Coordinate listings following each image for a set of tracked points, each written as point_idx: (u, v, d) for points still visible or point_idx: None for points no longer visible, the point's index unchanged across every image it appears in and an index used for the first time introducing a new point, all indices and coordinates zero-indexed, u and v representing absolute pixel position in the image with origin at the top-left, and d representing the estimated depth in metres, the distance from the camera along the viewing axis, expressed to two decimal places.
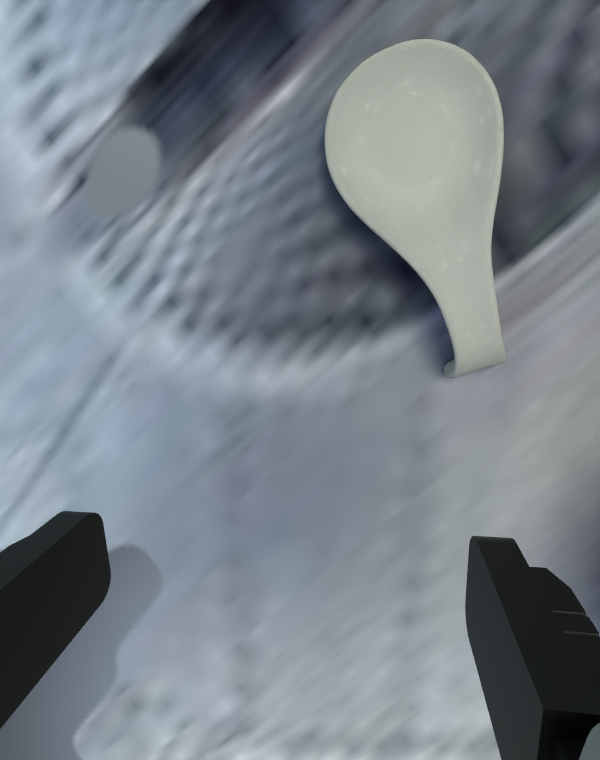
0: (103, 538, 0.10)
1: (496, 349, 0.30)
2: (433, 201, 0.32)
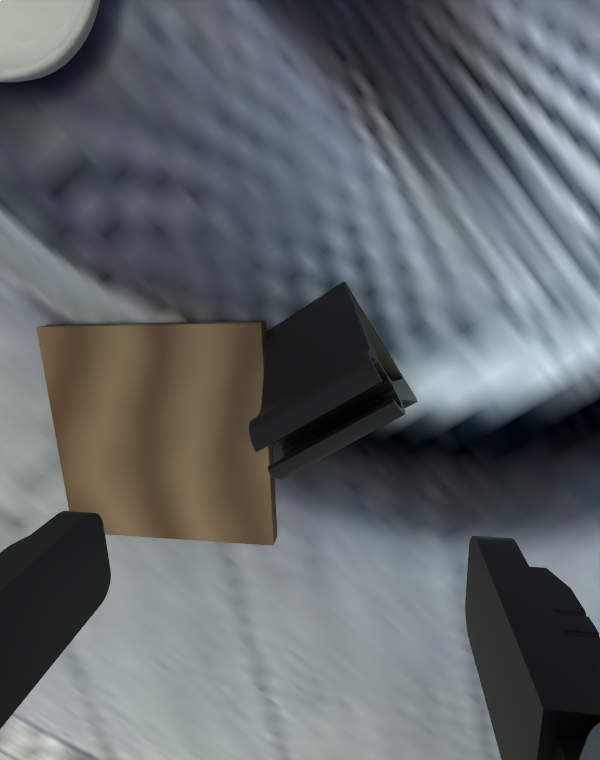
0: (103, 538, 0.10)
1: None
2: None
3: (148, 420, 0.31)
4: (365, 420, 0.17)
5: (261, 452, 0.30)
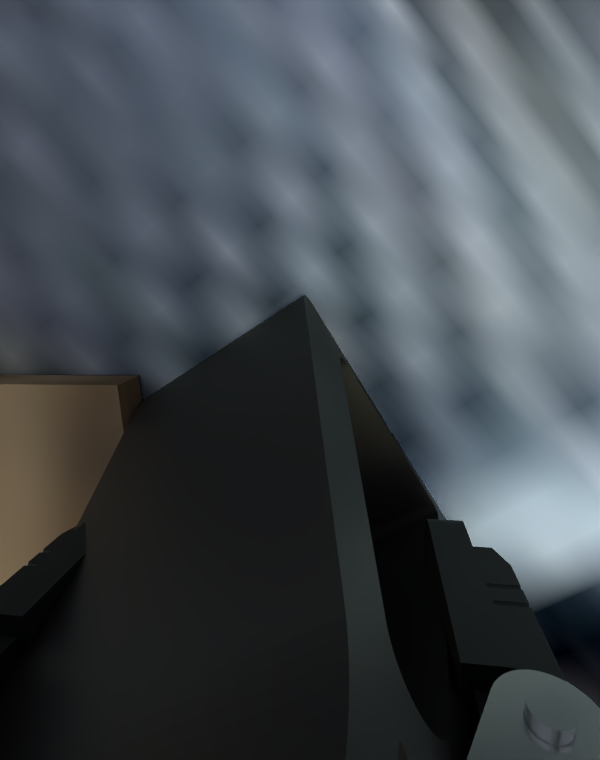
0: None
1: None
2: None
3: None
4: None
5: None
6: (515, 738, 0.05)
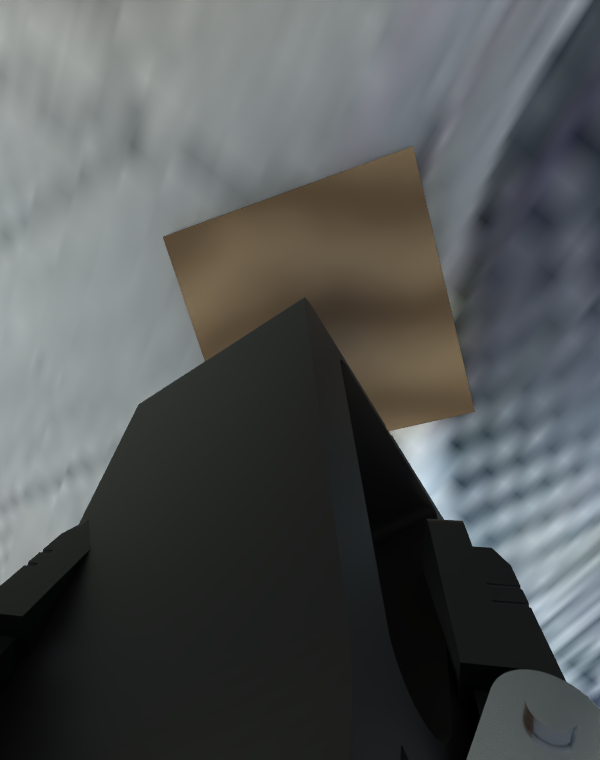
0: None
1: None
2: None
3: (334, 309, 0.27)
4: None
5: None
6: (515, 738, 0.05)
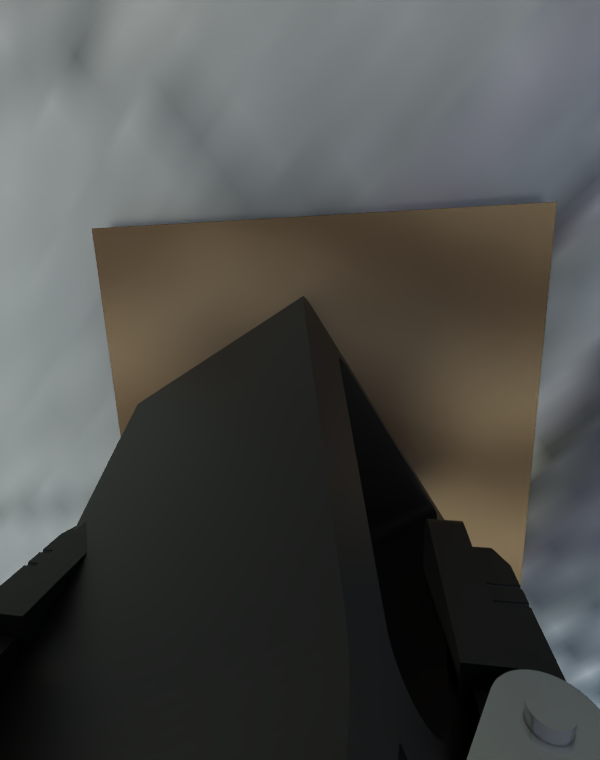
0: None
1: None
2: None
3: None
4: None
5: None
6: (515, 738, 0.05)
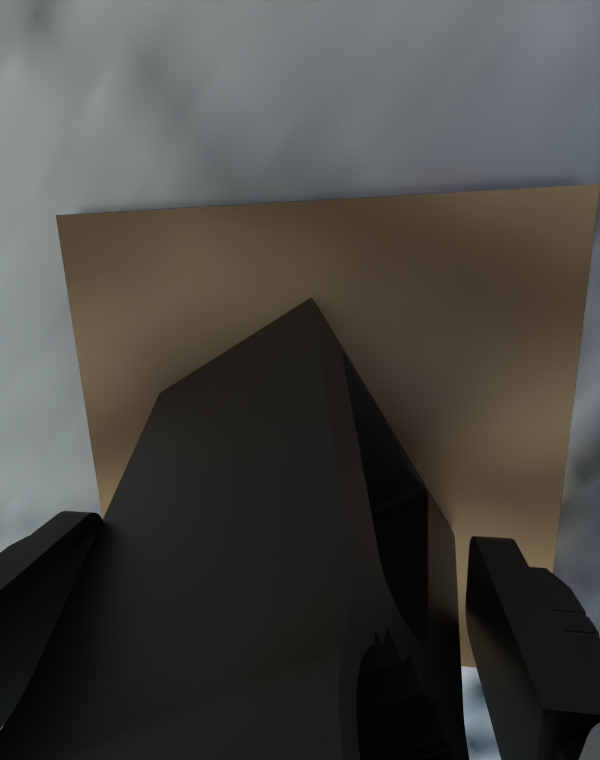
0: None
1: None
2: None
3: None
4: None
5: None
6: None
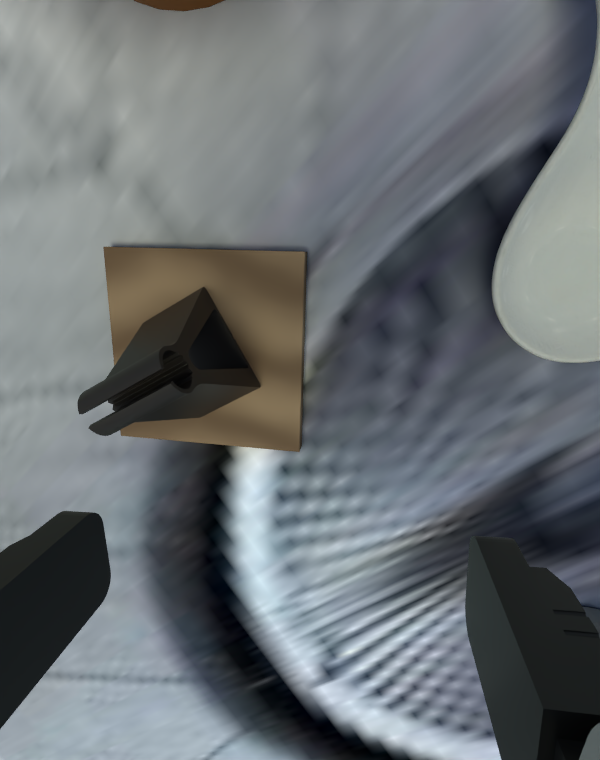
0: (103, 538, 0.10)
1: None
2: (576, 203, 0.28)
3: None
4: (152, 395, 0.24)
5: (198, 437, 0.38)
6: None
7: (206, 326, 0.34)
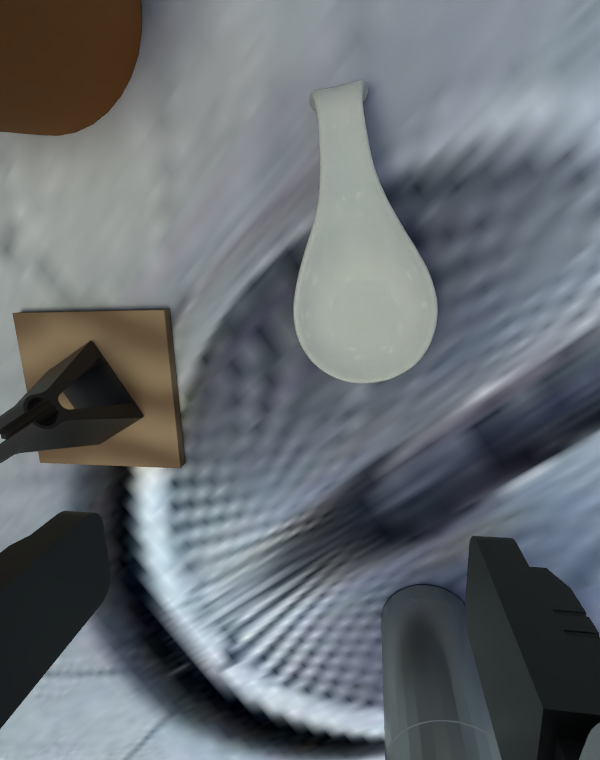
0: (103, 538, 0.10)
1: (322, 102, 0.31)
2: (352, 262, 0.37)
3: None
4: (21, 432, 0.32)
5: (100, 460, 0.46)
6: None
7: (96, 371, 0.43)
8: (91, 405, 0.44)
